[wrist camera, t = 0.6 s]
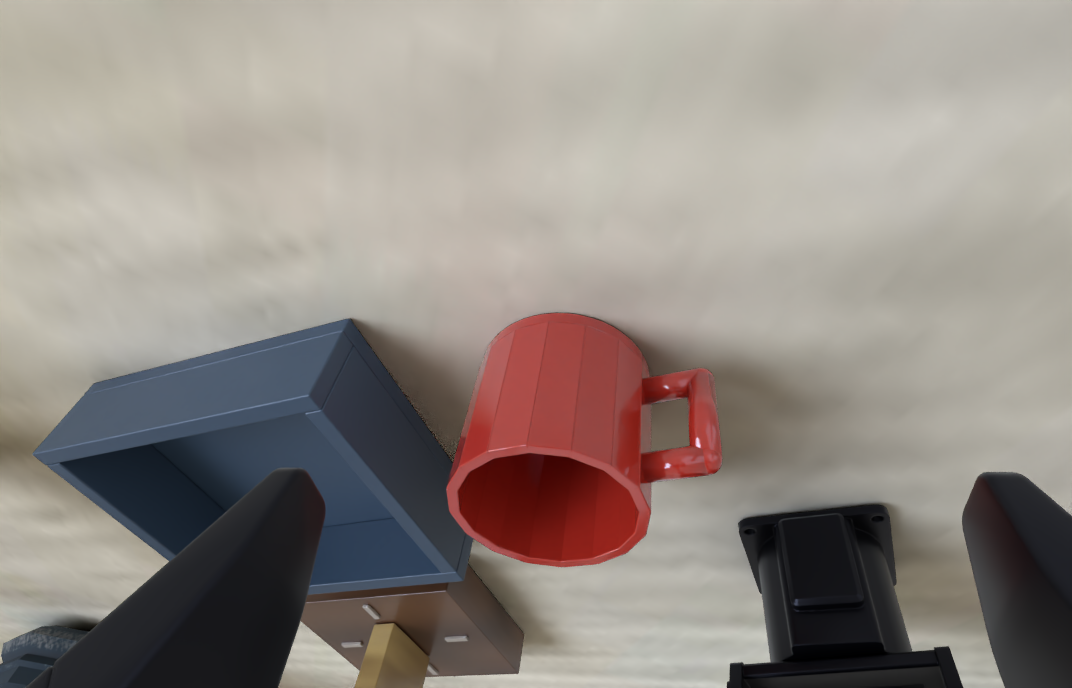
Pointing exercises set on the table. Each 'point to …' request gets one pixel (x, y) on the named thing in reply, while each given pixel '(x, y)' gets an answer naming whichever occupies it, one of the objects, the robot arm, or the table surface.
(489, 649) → the panel
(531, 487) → the mug
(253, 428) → the dark blue tray
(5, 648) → the lantern
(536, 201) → the table surface
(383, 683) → the tap knob
